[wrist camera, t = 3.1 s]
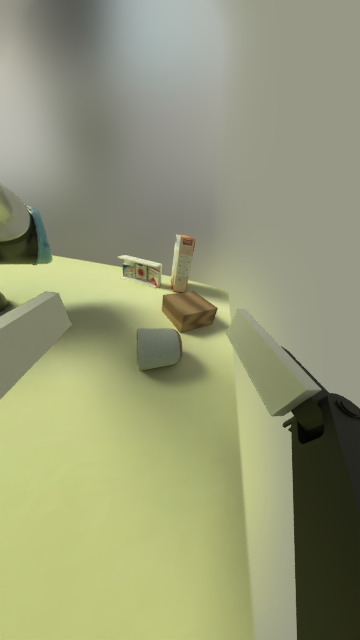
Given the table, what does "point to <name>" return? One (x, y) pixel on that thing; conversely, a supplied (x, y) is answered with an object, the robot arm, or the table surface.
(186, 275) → the cracker box
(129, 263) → the white packet holder
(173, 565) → the table surface
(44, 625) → the table surface
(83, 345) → the table surface
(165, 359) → the ceramic mug
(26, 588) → the table surface
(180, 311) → the walnut block
